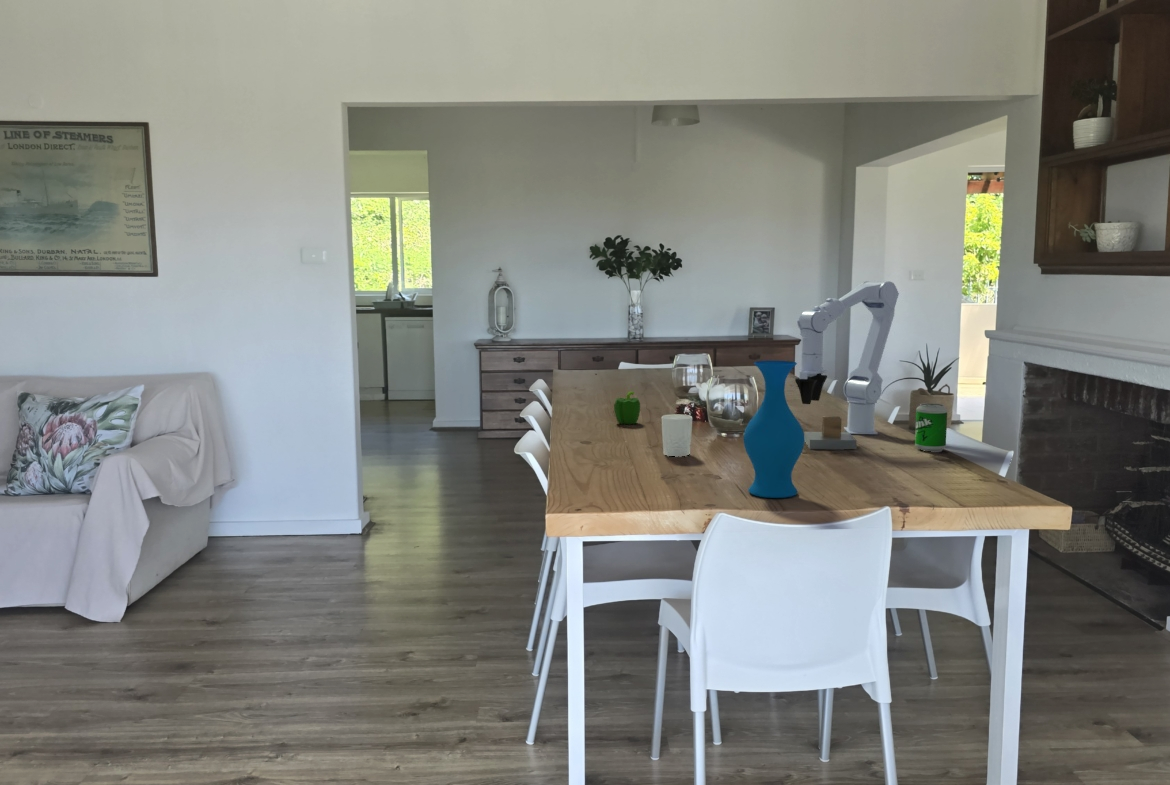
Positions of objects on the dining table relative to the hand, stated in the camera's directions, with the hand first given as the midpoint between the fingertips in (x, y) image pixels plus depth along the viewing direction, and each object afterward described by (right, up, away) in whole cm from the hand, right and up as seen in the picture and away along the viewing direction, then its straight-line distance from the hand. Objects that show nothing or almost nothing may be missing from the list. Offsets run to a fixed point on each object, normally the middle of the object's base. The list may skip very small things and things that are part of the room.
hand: (810, 402), depth 245 cm
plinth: (+3, -12, -8) cm, 14 cm away
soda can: (+27, -13, -16) cm, 34 cm away
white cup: (-40, -14, -19) cm, 46 cm away
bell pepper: (-50, -7, +29) cm, 58 cm away
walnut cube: (+3, -9, -8) cm, 13 cm away
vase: (-24, -19, -60) cm, 67 cm away
